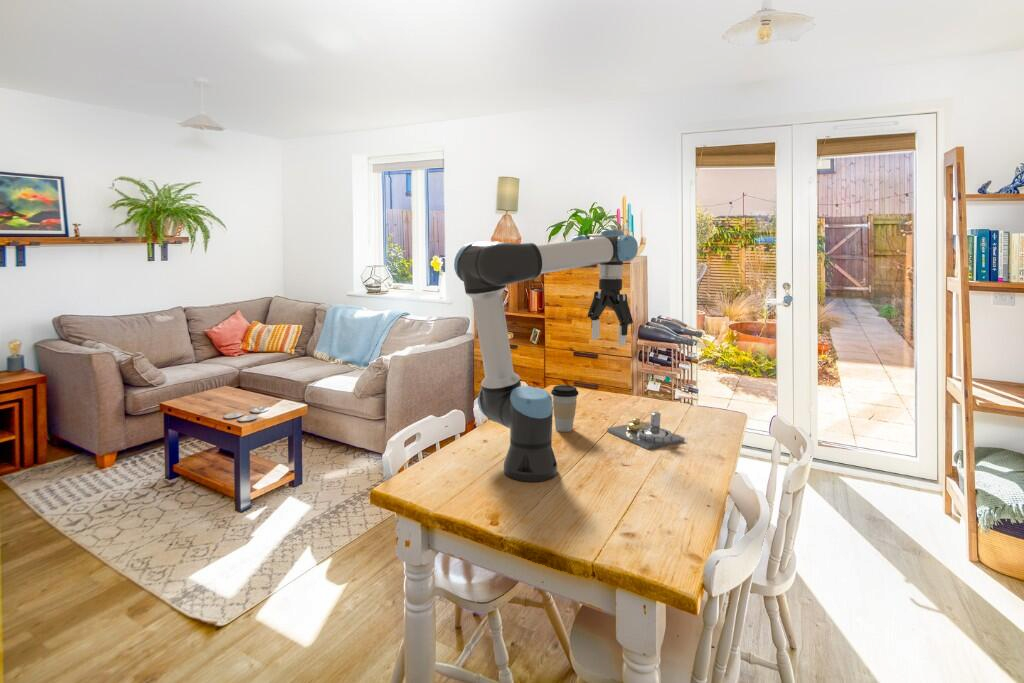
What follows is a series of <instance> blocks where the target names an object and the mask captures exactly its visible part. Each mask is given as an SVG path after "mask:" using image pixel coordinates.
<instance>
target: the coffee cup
mask: <svg viewBox="0 0 1024 683" xmlns="http://www.w3.org/2000/svg"><path fill="white" fill-rule="evenodd" d="M552 388H553V389H552V390H551V392H550V395H551V396H552V404H553V416H554V426H555V430H556V431H557V432H561V433H570V432H572V431H573V429H574V428H573V427H574V423H575V422H574V420H575V416H576V408H577V398H578V395H579V390H578V389H577V387H576V386H574V385H568V384H559V385H555V386H553V387H552Z"/></svg>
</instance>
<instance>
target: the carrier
mask: <svg viewBox="0 0 1024 683" xmlns="http://www.w3.org/2000/svg"><path fill="white" fill-rule="evenodd" d="M650 426H651V423H650V424H649V423H647V422H645V421H641V418H637V417H634V418H632V420H631V421H627V423H626V424H623V425H619V426H617V425H616V426H613V427H607V432H608V433H610V434H611V435H614V436H617V437H619V438H620V439H623V440H625V441H628V442H630V443H632V444H633V445H637V446H639V447H641V448H643V449H645V450H653V449H658V448H661V447H666V446H671V445H674V444H678V443H683V441H684V442H685V437H683V436H681V435H678V434H676V433H673V432H672V431H670V430H669V429H665V428H661V427H660V430H662V431H664V432H665V433H666V436H664V437H653V436H648V435H645V434H644V431H645V430H647V429H650Z"/></svg>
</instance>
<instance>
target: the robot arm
mask: <svg viewBox="0 0 1024 683" xmlns="http://www.w3.org/2000/svg"><path fill="white" fill-rule="evenodd" d="M638 251H639V244H638V241H637V239H636V238H635V237H634V236H632V235H628V234H627V235H625V232H624V231H623V230H621V229H603V230H601V231H600V235H599V234H598V235H585V234H582V235H581V234H580V235H575V236H574V237H573V238H572V239H571V241H564V242H557V243H550V244H549V243H548V244H542V245H541V244H540V245H537V244H535V243H533V242H527V243H517V242H516V243H512V242H505V241H504V242H503V241H482V240H481V241H474V242H469V243H466V244H464V245H463V246H461V248H460V249H459V250H458V252H457V253H456V255H455V258H454V263H453V266H454V272H455V274H456V276H457V277H458V279H460V281H462V282H463V285H464V293H465V294H466V295H467V296H468V297H470V298H471V301H472V306H473V312H474V317H475V318H474V319H475V325H476V329H477V330H476V331H477V338H478V342H479V349H480V354H481V359H482V365H483V371H484V372H483V373H484V378H483V379H482V380H481V382H480V386H481V388H480V389H479V390H480V391H479V392H478V393H477V394H478V395H477V404H478V408H479V410H480V412H481V413H482V415H483V416H485V417H486V418H487V419H488V420H490V421H492V422H494V423H497V424H499V425H502V426H504V427H506V428H508V429H510V430H509V432H510V434H509V438H510V439H509V447H508V451H507V454H506V456H505V460H504V461H503V473H504V475H506V476H507V478H510V479H513V480H515V481H520V482H526V483H527V482H528V483H532V482H533V483H536V482H544V481H548V480H550V479H553V478H554V477H555V476H557V473H558V463H557V460H556V456H555V453H554V450H553V447H552V446H553V445H552V439H553V438H552V436H553V416H554V409H553V396H552V394H551V393H550V392H548V391H547V390H545V389H543V388H541V387H538V386H537V387H533V386H532V385H531V386H530V385H524V386H522V382H521V376H520V375H519V374H518V373H516V372H514V366H513V365H514V364H513V357H512V353H511V352H512V351H511V344H510V340H509V339H510V338H509V332H508V325H507V319H506V313H505V306H504V300H503V292H504V291H505V290H506V288H507V285H508V286H509V285H512V284H517V283H520V282H526V281H530V280H534V279H535V280H536V279H538V278H539V277H540V276H541V275H542V274H547V273H553V272H558V271H565V270H572V269H577V268H582V267H589V266H594V265H599V273H598V277H600V278H599V280H598V289H599V291H597V290H596V291H594V294H593V298H592V302H591V304H590V308H589V309H588V312H587V316H586V317H587V318H590V320H591V340H599V339H600V327H601V320H600V317H601V316H602V314H603V312H604V310H605V309H606V307H608V308H609V307H610V308H611V309H613V311H614V313H615V315H616V317H617V320H618V321H619V325H618V335H617V346H619V347H620V346H626V345H627V336H628V328H629V327H628V326H629V325H631V324H634V320H633V317H632V314H631V310H630V306H629V302H628V295H627V293H620V292H621V290H623V279H622V277H623V270H624V269H623V268H624V262H631V261H632V260H634V259H635V258H636V256H637V255H638Z"/></svg>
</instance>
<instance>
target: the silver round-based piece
mask: <svg viewBox="0 0 1024 683" xmlns="http://www.w3.org/2000/svg"><path fill="white" fill-rule="evenodd" d="M661 417H662V416H661V413H660V412H655V411H653V412H651V413H650V425H651V426H650V429H647V430H645V431H644V434H645V435H648V436H653V437H664V436H666V433H665V432H664V431H662V430H660V428H661Z"/></svg>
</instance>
